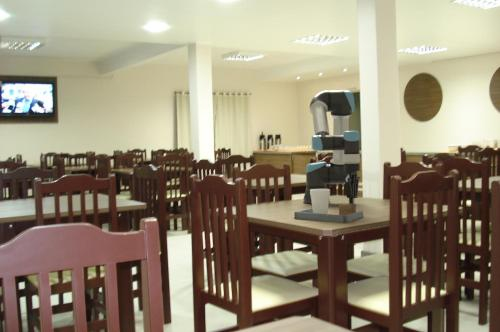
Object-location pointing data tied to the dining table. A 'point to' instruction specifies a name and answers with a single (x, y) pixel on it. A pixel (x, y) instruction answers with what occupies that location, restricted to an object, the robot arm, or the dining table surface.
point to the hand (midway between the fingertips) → (352, 211)
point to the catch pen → (327, 216)
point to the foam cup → (320, 200)
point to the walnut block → (347, 208)
